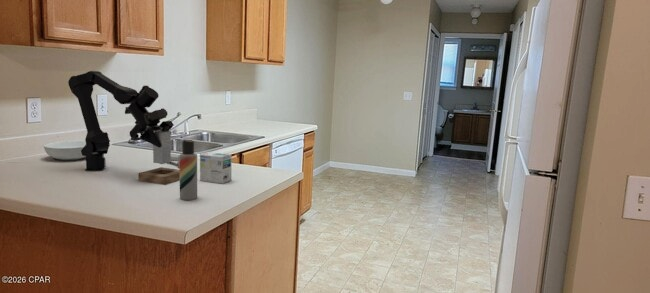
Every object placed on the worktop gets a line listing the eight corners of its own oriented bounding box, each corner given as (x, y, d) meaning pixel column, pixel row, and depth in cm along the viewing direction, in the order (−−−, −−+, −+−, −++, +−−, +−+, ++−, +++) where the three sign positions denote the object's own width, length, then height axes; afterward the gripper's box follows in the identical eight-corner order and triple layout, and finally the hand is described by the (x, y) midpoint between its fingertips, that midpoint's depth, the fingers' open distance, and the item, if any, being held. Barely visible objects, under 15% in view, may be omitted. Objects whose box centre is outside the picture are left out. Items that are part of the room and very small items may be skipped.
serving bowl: (49, 155, 209) (48, 140, 208) (98, 153, 217) (98, 140, 216) (39, 163, 190) (38, 148, 189) (94, 162, 198) (93, 147, 197)
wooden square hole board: (138, 180, 169) (138, 173, 168) (161, 174, 180) (161, 167, 180) (164, 184, 165) (164, 176, 164) (186, 178, 176) (186, 170, 176)
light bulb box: (232, 180, 176) (232, 154, 174) (222, 184, 170) (223, 156, 168) (209, 177, 179) (209, 151, 177) (199, 180, 173) (199, 153, 171)
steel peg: (153, 162, 170) (152, 131, 168) (161, 160, 174) (161, 130, 172) (162, 164, 168) (162, 133, 166) (170, 162, 172) (170, 131, 171)
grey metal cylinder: (164, 151, 211) (192, 152, 194) (165, 165, 211) (193, 167, 194) (154, 152, 207) (181, 153, 190) (155, 166, 208) (182, 168, 191)
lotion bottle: (182, 195, 151) (181, 138, 148) (198, 196, 152) (198, 138, 149) (177, 200, 146) (177, 140, 143) (195, 200, 146) (195, 141, 143)
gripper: (134, 102, 160) (159, 135, 158) (169, 100, 177) (192, 130, 175) (118, 122, 164) (142, 154, 162) (154, 118, 181) (176, 147, 179)
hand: (164, 146), depth 170 cm, fingers closed on steel peg, 4 cm apart
